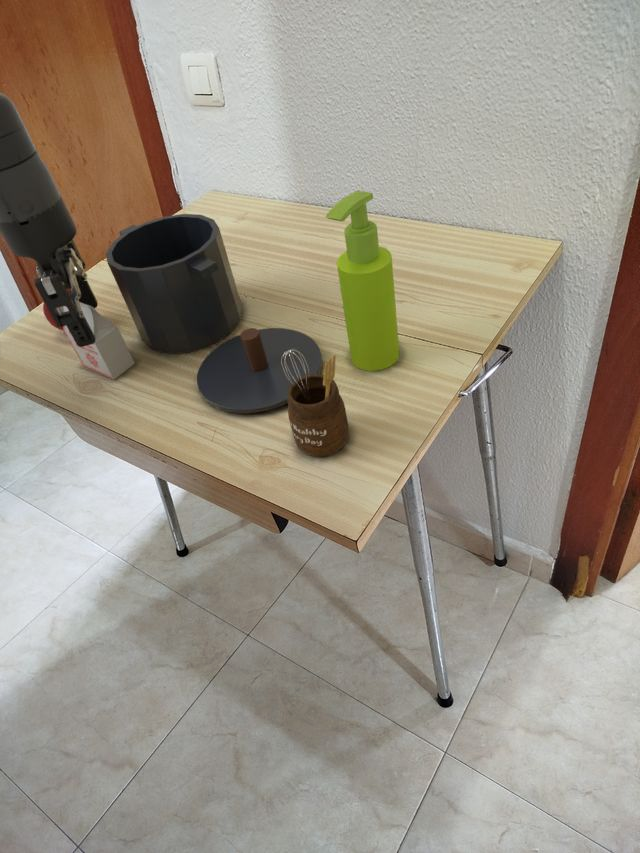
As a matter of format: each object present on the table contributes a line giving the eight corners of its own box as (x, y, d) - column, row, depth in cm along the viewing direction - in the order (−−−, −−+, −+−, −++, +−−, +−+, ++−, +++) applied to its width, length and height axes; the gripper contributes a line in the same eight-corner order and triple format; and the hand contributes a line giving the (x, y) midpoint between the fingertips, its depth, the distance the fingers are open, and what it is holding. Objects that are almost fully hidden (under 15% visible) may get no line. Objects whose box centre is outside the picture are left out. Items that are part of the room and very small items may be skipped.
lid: (252, 436, 65) (238, 396, 61) (175, 382, 74) (159, 344, 70) (349, 363, 72) (343, 322, 67) (268, 321, 81) (258, 283, 77)
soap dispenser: (336, 366, 71) (308, 208, 58) (369, 336, 75) (350, 179, 61) (376, 381, 68) (356, 218, 55) (408, 349, 72) (398, 187, 58)
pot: (189, 375, 75) (155, 290, 66) (114, 324, 87) (77, 246, 78) (275, 319, 81) (253, 234, 72) (194, 278, 93) (167, 201, 84)
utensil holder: (316, 412, 66) (297, 324, 58) (363, 431, 63) (349, 341, 55) (284, 446, 63) (258, 358, 55) (331, 467, 60) (311, 378, 52)
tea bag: (104, 350, 82) (71, 288, 75) (134, 363, 79) (104, 299, 72) (83, 365, 80) (48, 303, 73) (113, 379, 77) (80, 315, 70)
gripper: (0, 187, 69) (64, 304, 80) (-22, 239, 59) (55, 365, 70) (64, 171, 69) (118, 290, 80) (53, 220, 59) (117, 348, 70)
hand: (89, 325), depth 75 cm, fingers open, 8 cm apart
